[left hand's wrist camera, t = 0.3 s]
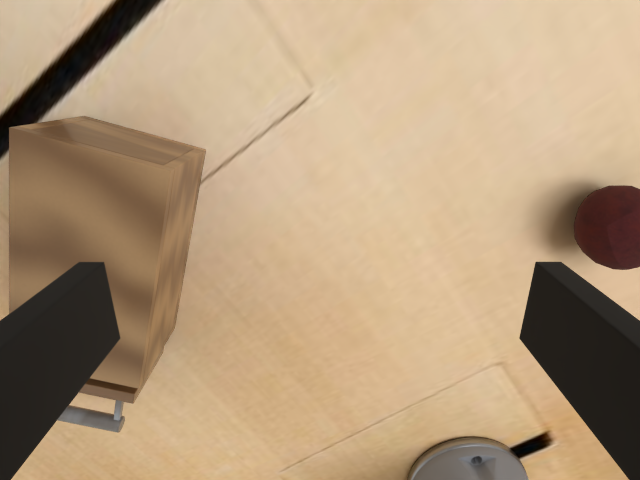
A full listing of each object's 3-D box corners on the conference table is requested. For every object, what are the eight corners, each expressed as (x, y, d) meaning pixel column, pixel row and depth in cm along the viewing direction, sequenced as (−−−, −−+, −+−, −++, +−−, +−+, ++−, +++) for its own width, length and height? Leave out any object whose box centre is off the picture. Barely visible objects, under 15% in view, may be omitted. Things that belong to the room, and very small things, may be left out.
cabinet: (174, 327, 45) (139, 388, 36) (72, 304, 44) (9, 361, 35) (206, 149, 38) (171, 170, 29) (84, 115, 37) (8, 127, 28)
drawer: (156, 394, 48) (126, 450, 40) (68, 375, 47) (22, 429, 39) (190, 191, 39) (160, 216, 31) (82, 162, 38) (26, 182, 30)
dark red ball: (574, 262, 42) (621, 296, 36) (545, 203, 40) (590, 227, 33) (644, 225, 41) (707, 253, 34) (618, 161, 38) (680, 178, 32)
